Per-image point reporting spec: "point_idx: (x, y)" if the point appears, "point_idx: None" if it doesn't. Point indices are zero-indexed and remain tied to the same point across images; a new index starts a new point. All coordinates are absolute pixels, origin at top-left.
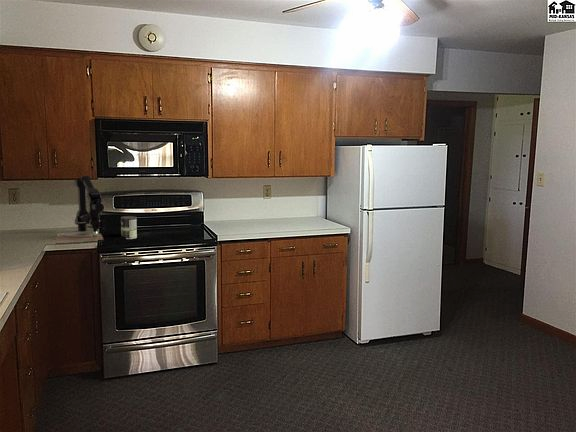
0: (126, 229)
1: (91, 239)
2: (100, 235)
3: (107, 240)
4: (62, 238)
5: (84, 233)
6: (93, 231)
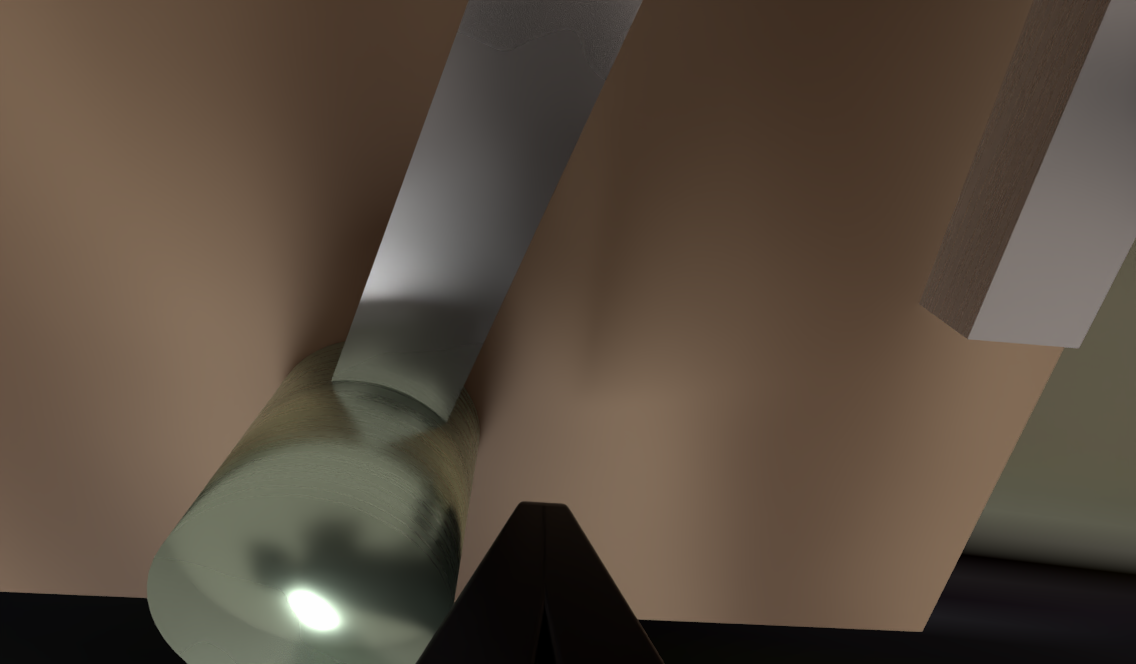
0: None
1: None
2: None
3: (104, 622)
4: None
5: (1101, 56)
6: (366, 539)
